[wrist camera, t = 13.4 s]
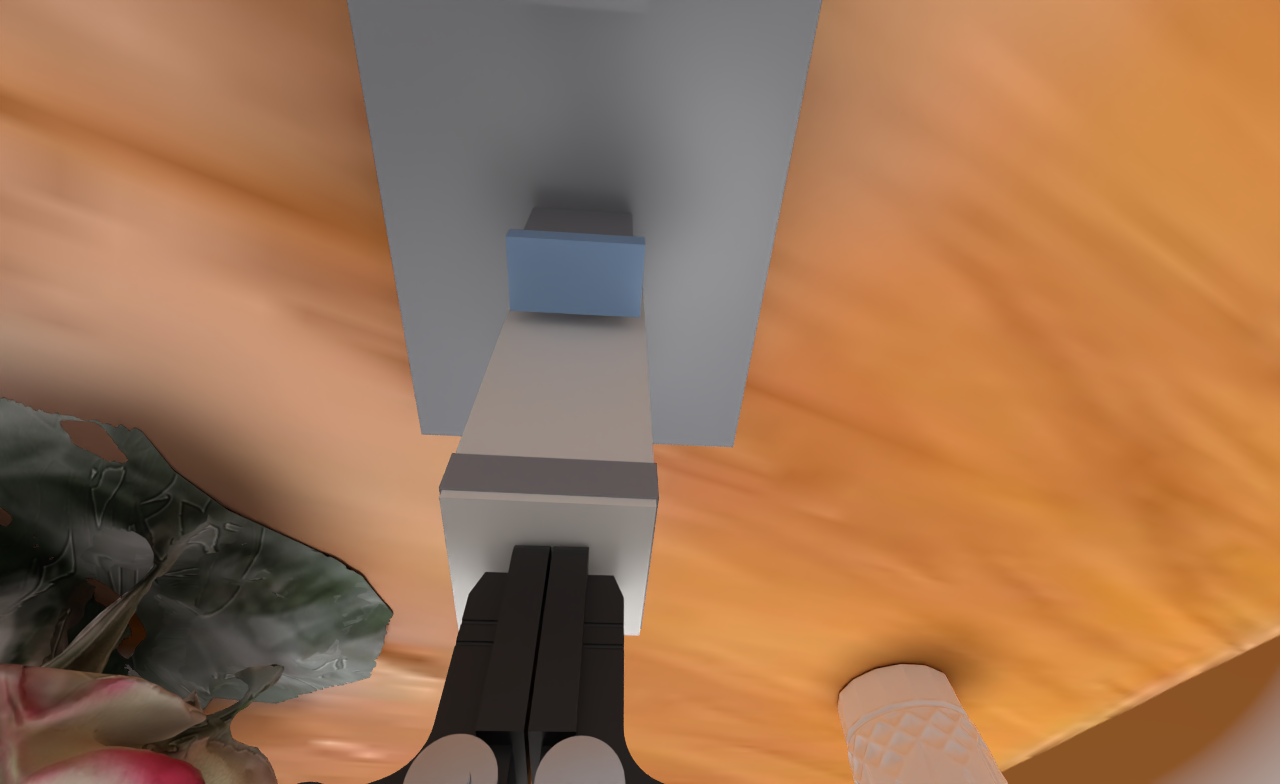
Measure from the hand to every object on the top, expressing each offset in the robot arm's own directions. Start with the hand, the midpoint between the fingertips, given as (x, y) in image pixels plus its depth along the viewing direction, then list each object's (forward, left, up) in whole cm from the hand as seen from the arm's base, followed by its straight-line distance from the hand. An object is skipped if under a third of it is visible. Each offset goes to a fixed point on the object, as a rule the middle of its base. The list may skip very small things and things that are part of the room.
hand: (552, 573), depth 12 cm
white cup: (+24, +19, -11) cm, 33 cm away
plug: (0, 0, -10) cm, 10 cm away
